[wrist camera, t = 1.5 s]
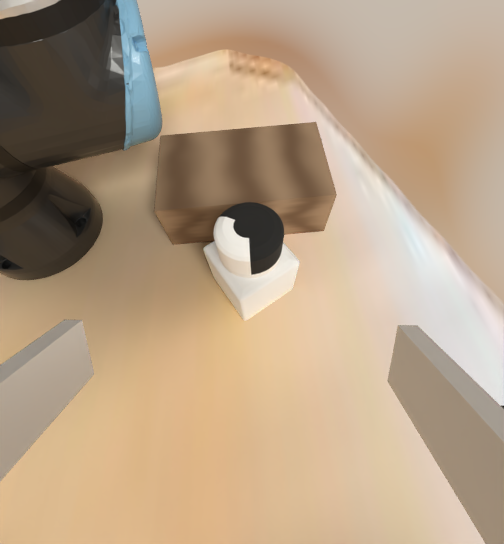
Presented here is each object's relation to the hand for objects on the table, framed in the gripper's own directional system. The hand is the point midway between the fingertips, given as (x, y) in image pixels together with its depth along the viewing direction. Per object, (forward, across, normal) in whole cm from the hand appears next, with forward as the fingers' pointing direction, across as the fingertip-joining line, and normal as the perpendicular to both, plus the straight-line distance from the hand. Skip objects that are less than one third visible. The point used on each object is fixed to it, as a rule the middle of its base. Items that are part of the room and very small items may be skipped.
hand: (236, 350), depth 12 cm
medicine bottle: (+22, 0, -5) cm, 22 cm away
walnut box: (+30, -2, +4) cm, 30 cm away
